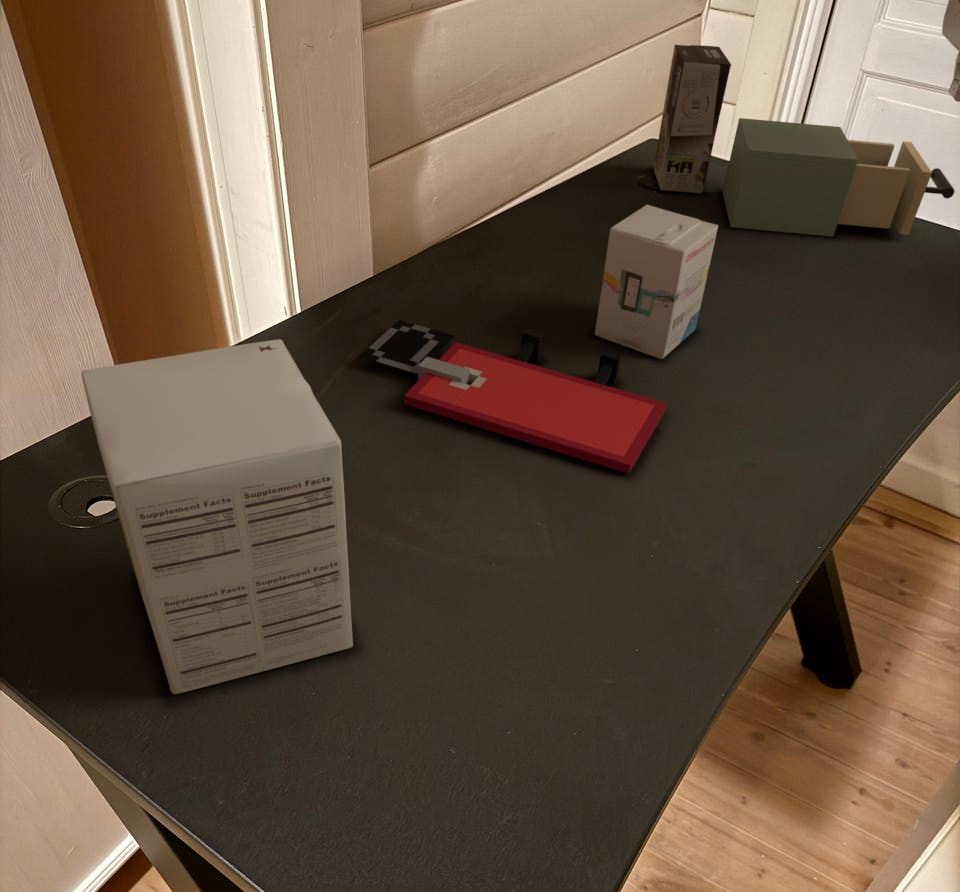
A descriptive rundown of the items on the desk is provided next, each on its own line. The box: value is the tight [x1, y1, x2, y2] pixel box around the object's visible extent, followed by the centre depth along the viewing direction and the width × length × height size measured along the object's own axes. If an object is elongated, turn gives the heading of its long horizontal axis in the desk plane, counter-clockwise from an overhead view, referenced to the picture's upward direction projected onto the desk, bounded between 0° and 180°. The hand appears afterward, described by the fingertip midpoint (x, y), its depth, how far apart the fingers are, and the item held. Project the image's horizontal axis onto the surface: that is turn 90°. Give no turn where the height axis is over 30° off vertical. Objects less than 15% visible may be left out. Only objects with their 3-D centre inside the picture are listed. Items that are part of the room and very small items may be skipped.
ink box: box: [594, 204, 719, 360], centre depth 98 cm, size 8×8×12 cm
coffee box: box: [653, 44, 732, 194], centre depth 129 cm, size 9×6×16 cm
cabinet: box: [721, 117, 858, 237], centre depth 125 cm, size 14×13×10 cm
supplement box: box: [80, 338, 354, 695], centre depth 63 cm, size 13×13×18 cm
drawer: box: [837, 139, 955, 236], centre depth 125 cm, size 17×11×8 cm
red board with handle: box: [359, 319, 668, 475], centre depth 91 cm, size 30×3×15 cm
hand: (957, 98), depth 117 cm, fingers closed
